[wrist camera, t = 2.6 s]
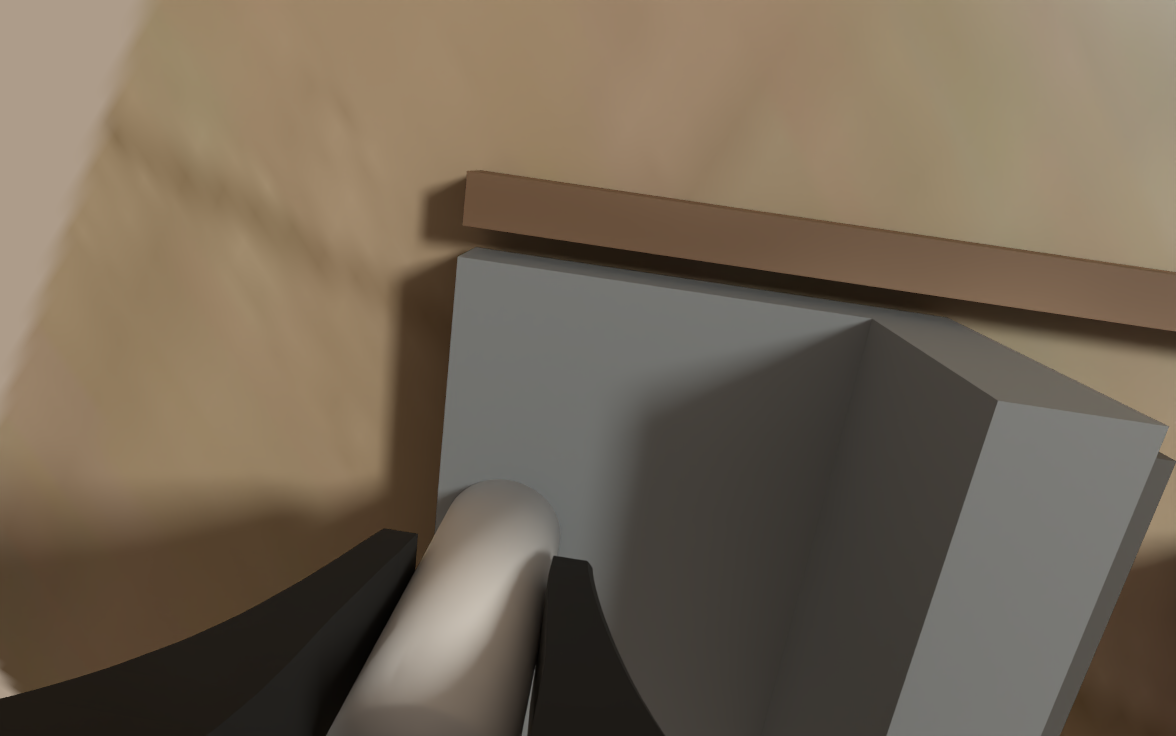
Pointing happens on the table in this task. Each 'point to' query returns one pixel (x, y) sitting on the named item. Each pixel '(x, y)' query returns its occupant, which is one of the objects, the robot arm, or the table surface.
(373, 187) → the table surface
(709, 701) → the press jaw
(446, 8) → the table surface
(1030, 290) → the frame
